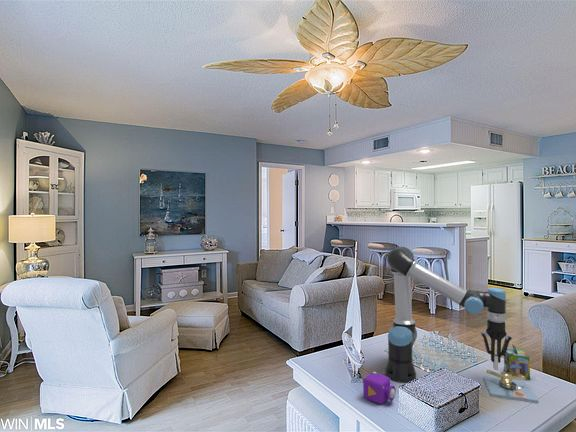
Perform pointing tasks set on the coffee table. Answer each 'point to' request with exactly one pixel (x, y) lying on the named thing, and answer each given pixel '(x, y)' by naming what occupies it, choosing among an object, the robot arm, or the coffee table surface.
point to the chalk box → (517, 363)
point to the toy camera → (378, 388)
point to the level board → (509, 390)
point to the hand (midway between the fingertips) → (495, 368)
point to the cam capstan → (508, 380)
